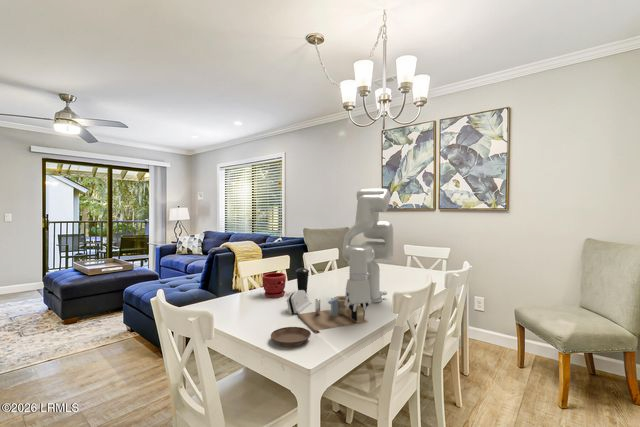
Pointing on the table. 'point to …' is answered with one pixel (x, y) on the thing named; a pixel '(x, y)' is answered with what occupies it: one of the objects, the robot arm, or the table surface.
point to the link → (347, 311)
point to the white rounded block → (297, 301)
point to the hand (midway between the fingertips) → (358, 318)
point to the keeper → (334, 306)
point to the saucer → (290, 336)
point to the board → (326, 320)
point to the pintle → (317, 307)
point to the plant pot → (274, 284)
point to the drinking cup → (302, 278)
